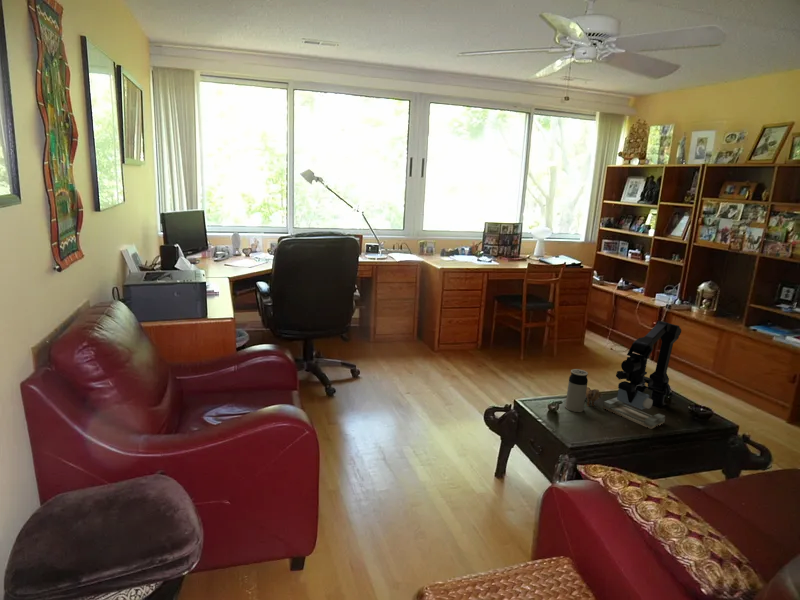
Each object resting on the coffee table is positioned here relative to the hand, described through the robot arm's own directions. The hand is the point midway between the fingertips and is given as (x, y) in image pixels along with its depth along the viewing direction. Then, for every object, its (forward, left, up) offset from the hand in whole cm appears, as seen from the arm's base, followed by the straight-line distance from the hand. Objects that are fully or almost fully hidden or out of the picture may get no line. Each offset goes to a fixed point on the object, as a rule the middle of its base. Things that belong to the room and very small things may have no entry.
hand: (633, 401), depth 228 cm
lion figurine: (+6, -17, -7) cm, 20 cm away
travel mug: (+18, -17, -7) cm, 26 cm away
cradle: (0, +1, -6) cm, 7 cm away
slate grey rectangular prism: (0, 0, -1) cm, 1 cm away
